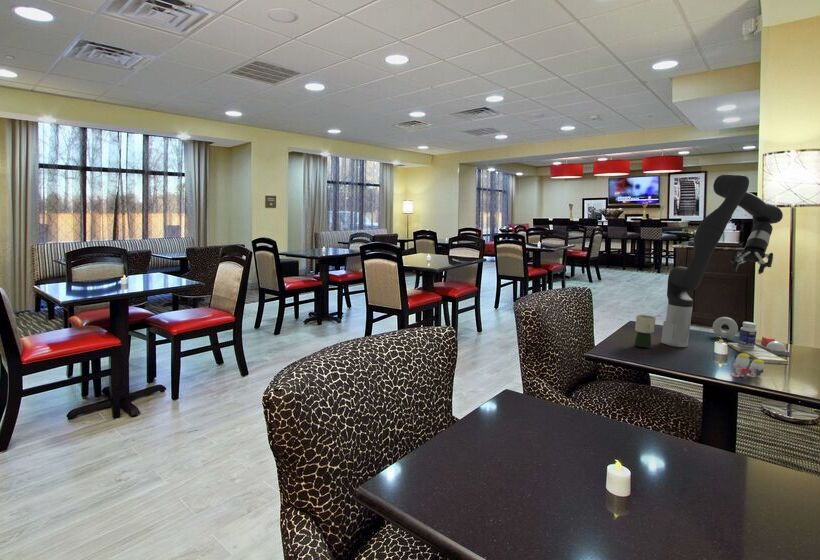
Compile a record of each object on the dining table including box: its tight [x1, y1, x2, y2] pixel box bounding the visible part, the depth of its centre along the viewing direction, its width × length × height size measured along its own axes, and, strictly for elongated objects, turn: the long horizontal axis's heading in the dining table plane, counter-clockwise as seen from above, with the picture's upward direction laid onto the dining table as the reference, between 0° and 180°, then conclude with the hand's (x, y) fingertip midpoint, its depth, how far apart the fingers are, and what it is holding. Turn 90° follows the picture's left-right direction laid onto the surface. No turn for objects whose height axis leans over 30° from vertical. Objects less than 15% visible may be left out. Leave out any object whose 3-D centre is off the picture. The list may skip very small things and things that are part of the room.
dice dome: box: [755, 336, 791, 357], centre depth 201 cm, size 12×7×6 cm, turn 174°
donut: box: [712, 316, 739, 340], centre depth 218 cm, size 10×4×10 cm, turn 39°
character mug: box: [634, 314, 656, 349], centre depth 198 cm, size 11×7×13 cm, turn 0°
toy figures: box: [730, 352, 765, 378], centre depth 167 cm, size 12×4×8 cm, turn 97°
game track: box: [727, 342, 789, 365], centre depth 196 cm, size 23×10×1 cm, turn 174°
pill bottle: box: [737, 321, 758, 347], centre depth 202 cm, size 6×6×10 cm
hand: (747, 271), depth 200 cm, fingers open, 8 cm apart
